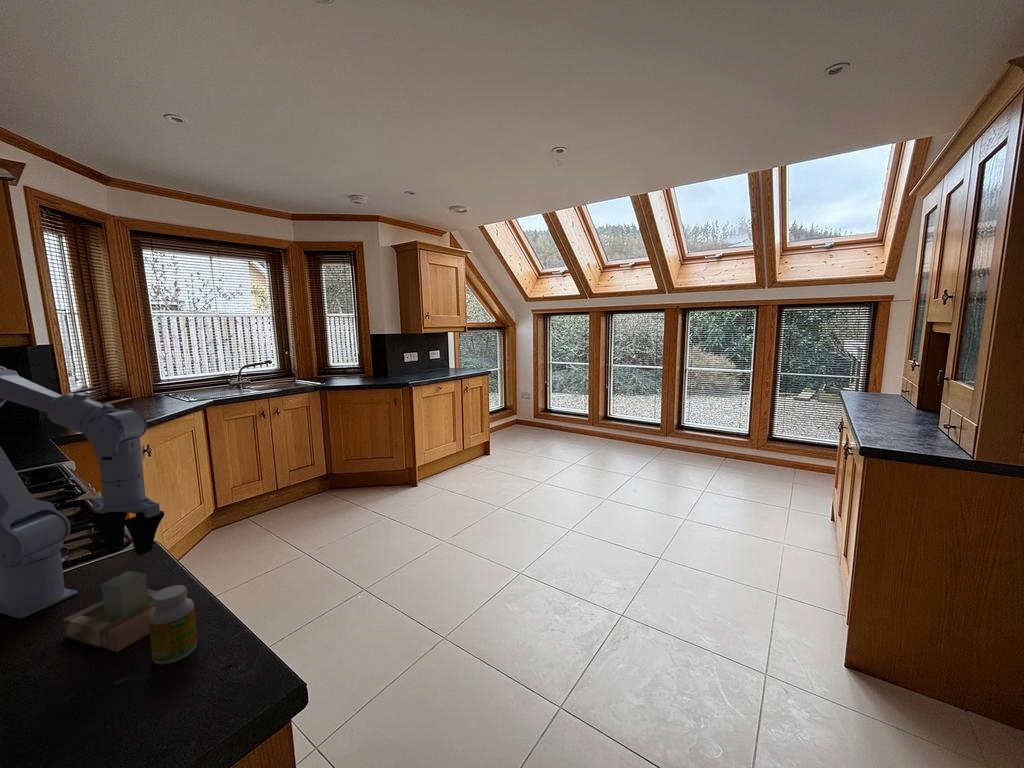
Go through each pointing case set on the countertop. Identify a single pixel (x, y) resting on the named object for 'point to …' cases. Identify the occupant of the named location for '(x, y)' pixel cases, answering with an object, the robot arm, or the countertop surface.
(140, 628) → the stop wall
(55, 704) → the countertop surface
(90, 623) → the collar block
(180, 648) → the supplement bottle
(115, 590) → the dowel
